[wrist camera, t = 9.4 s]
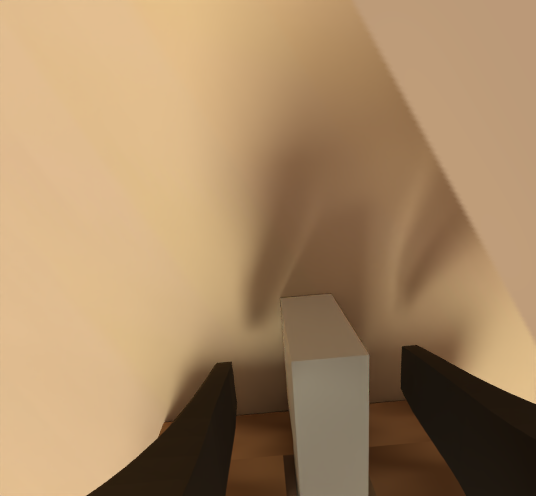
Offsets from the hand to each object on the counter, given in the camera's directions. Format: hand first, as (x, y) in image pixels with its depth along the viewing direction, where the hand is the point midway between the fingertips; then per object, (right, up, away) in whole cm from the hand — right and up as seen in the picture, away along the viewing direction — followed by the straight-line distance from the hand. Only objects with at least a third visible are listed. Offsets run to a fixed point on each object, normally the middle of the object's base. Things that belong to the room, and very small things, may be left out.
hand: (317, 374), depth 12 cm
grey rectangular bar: (0, -4, +4) cm, 6 cm away
